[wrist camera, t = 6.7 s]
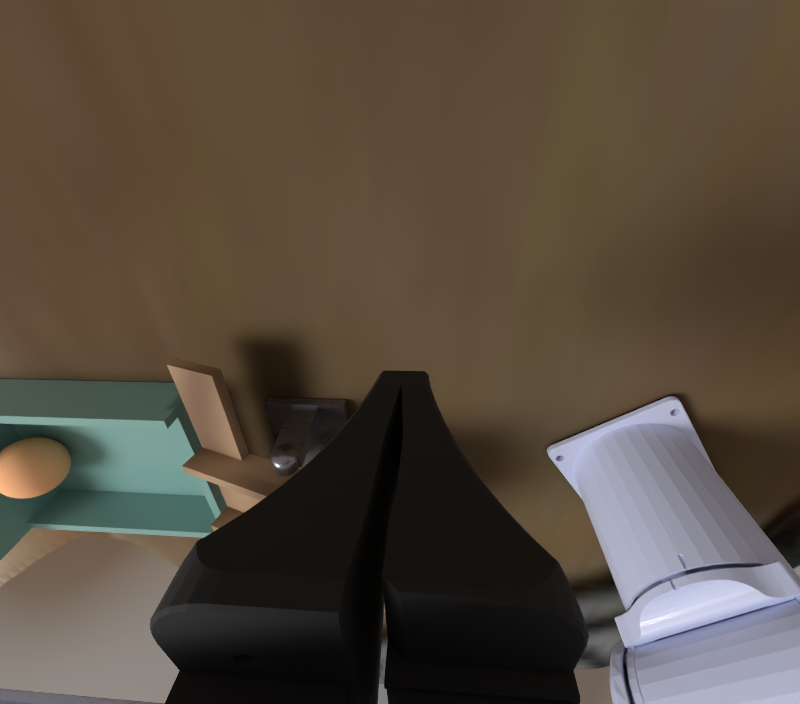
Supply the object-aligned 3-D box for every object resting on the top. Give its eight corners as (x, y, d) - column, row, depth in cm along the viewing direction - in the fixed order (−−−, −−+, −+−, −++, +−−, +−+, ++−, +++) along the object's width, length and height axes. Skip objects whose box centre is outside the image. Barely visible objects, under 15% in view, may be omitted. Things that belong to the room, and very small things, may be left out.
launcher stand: (345, 399, 24) (326, 463, 20) (358, 494, 29) (344, 562, 24) (268, 397, 24) (232, 460, 20) (294, 491, 29) (269, 557, 25)
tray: (196, 383, 24) (134, 455, 19) (240, 496, 30) (201, 574, 25) (-22, 378, 25) (-135, 444, 20) (62, 488, 31) (-9, 560, 26)
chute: (418, 391, 17) (381, 458, 14) (418, 546, 24) (393, 616, 20) (200, 344, 21) (131, 386, 18) (251, 486, 28) (207, 537, 25)
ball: (93, 443, 28) (67, 486, 25) (60, 473, 29) (30, 519, 26) (34, 416, 26) (-4, 459, 23) (0, 449, 27) (-42, 495, 24)
